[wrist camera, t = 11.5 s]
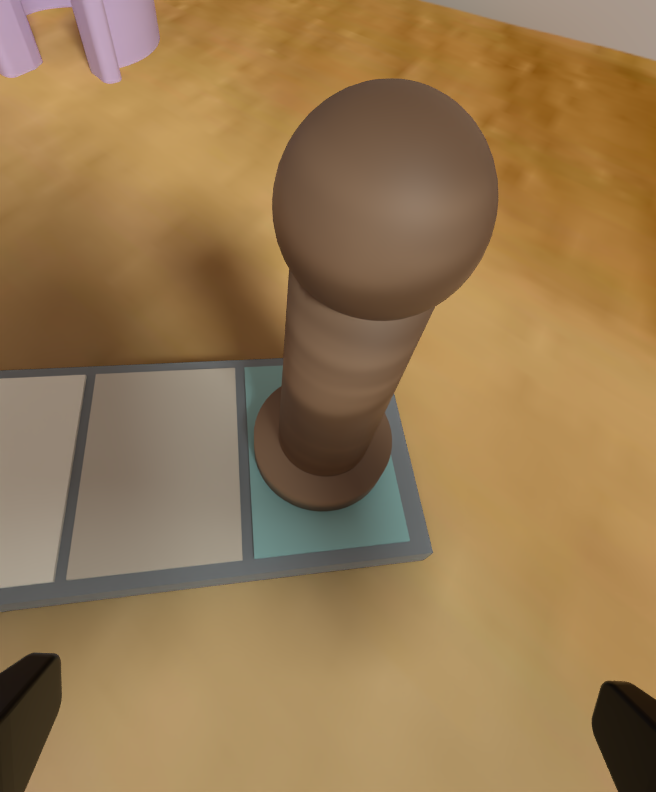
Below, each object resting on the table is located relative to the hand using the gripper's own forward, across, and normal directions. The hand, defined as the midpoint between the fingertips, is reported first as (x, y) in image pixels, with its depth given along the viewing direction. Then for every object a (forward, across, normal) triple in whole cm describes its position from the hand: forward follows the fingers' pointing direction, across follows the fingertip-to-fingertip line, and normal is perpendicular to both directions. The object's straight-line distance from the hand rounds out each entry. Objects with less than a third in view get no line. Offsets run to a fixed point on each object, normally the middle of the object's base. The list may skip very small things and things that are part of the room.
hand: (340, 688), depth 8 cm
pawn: (+11, 0, 0) cm, 11 cm away
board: (+11, +6, +1) cm, 13 cm away
